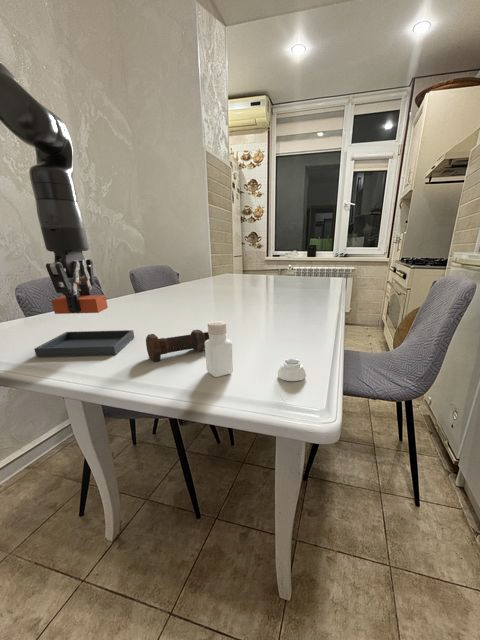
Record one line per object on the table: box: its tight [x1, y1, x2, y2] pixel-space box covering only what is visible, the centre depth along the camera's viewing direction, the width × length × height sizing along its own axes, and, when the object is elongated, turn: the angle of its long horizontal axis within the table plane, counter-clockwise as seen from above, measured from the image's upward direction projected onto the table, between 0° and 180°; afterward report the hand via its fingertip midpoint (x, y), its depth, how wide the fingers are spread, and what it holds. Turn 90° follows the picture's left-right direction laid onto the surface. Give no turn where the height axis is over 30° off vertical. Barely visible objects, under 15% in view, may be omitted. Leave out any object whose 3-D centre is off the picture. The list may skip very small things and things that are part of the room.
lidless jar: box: [277, 358, 307, 382], centre depth 52 cm, size 5×3×5 cm
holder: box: [33, 329, 135, 358], centre depth 67 cm, size 16×12×2 cm
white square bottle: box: [204, 320, 234, 378], centre depth 52 cm, size 4×4×10 cm
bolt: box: [145, 329, 209, 363], centre depth 63 cm, size 6×5×15 cm
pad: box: [51, 294, 109, 315], centre depth 64 cm, size 9×5×3 cm, turn 95°
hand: (81, 308), depth 64 cm, fingers closed on pad, 5 cm apart
